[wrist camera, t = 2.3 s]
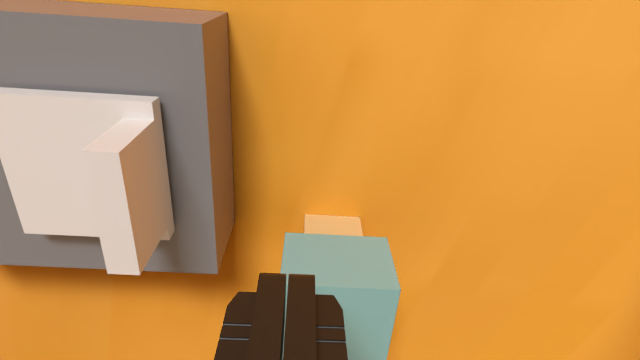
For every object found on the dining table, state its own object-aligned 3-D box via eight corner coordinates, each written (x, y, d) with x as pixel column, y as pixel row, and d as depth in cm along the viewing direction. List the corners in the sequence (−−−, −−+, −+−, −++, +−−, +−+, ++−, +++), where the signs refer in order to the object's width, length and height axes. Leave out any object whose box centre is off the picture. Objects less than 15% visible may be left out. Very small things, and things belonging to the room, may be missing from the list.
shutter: (158, 96, 16) (115, 132, 13) (174, 230, 19) (142, 289, 16) (-7, 86, 16) (-99, 119, 12) (35, 223, 19) (-30, 282, 15)
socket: (227, 12, 20) (201, 24, 15) (234, 220, 25) (217, 274, 21) (-116, -12, 19) (-247, -7, 15) (-32, 207, 25) (-109, 259, 20)
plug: (377, 203, 25) (400, 289, 18) (367, 273, 27) (384, 371, 21) (289, 199, 25) (279, 284, 18) (286, 269, 27) (277, 367, 20)
